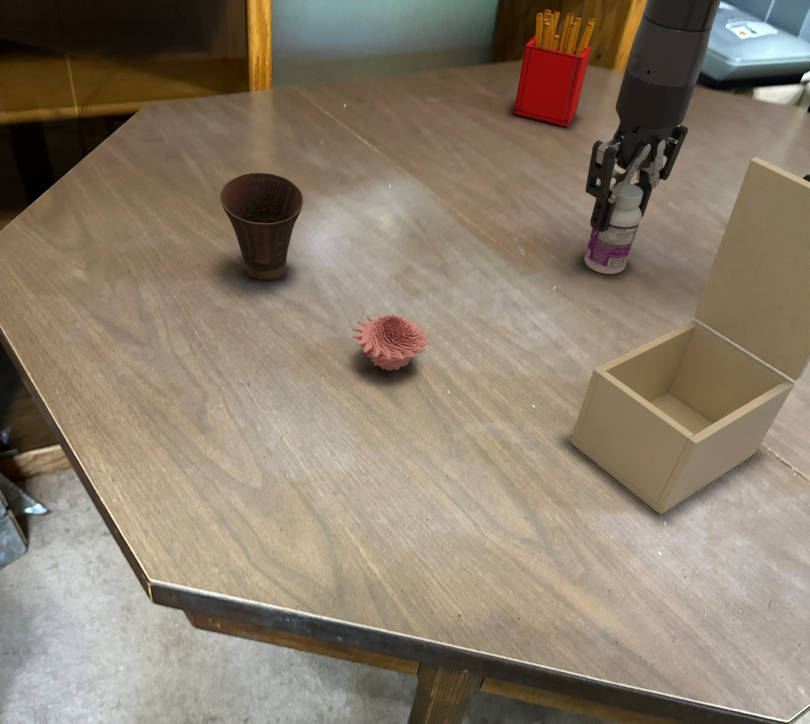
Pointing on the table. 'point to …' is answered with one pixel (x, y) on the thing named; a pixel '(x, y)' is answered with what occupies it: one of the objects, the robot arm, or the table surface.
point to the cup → (262, 220)
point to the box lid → (764, 270)
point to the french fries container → (553, 70)
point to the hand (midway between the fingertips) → (616, 222)
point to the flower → (391, 341)
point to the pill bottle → (616, 233)
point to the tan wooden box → (677, 413)
